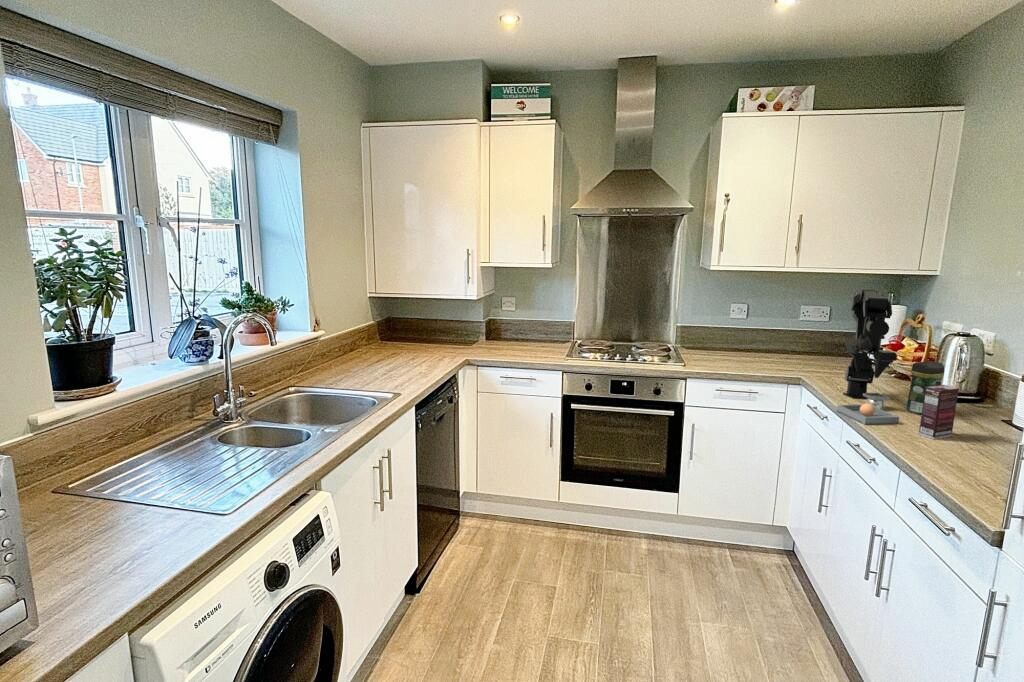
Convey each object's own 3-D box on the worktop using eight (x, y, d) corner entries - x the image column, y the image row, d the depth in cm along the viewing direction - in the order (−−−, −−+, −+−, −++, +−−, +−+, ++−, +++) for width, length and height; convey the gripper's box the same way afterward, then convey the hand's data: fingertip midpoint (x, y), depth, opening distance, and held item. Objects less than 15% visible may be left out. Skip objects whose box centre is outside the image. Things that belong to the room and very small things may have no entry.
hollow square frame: (861, 405, 202) (863, 393, 201) (876, 405, 202) (877, 392, 201) (873, 410, 196) (874, 397, 195) (888, 410, 196) (890, 397, 196)
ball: (856, 414, 190) (857, 402, 190) (867, 414, 191) (869, 402, 190) (865, 417, 186) (866, 405, 185) (877, 417, 186) (878, 405, 186)
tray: (836, 411, 195) (837, 405, 194) (867, 411, 196) (868, 404, 195) (864, 424, 181) (865, 417, 180) (898, 424, 182) (899, 417, 182)
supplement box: (935, 431, 175) (943, 384, 172) (952, 437, 171) (960, 388, 168) (917, 434, 172) (924, 386, 169) (933, 440, 168) (941, 390, 165)
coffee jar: (919, 407, 201) (927, 358, 197) (942, 414, 193) (950, 363, 190) (900, 409, 198) (908, 360, 194) (923, 416, 190) (931, 365, 187)
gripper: (834, 328, 203) (829, 368, 206) (870, 337, 185) (864, 381, 188) (862, 328, 204) (856, 368, 207) (901, 337, 186) (894, 381, 189)
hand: (866, 374), depth 197 cm, fingers open, 9 cm apart
